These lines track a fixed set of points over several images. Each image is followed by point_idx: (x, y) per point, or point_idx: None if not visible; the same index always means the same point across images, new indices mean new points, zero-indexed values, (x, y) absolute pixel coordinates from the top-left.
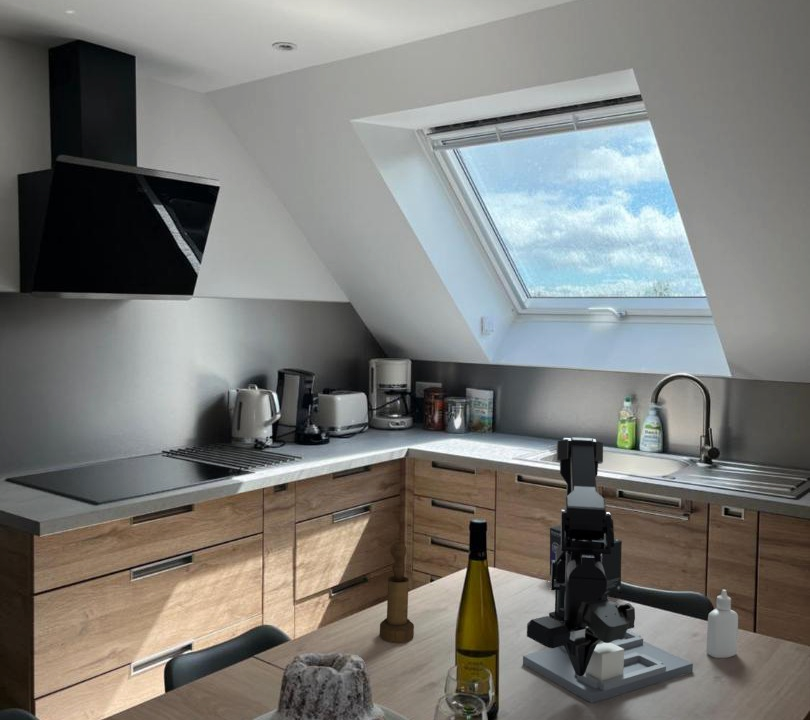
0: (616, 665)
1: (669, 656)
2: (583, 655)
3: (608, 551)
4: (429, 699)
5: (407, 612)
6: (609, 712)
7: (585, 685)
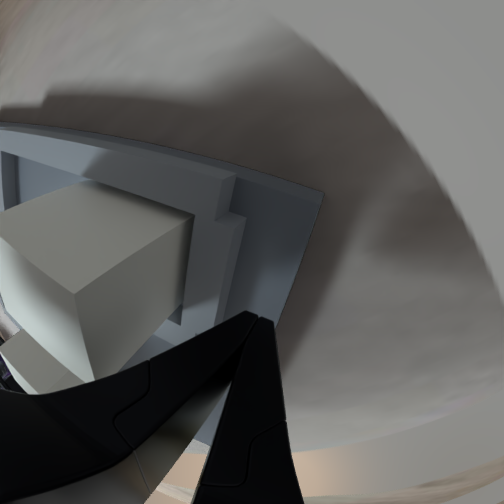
0: (65, 208)
1: None
2: (234, 427)
3: None
4: (487, 463)
5: None
6: (346, 86)
7: (254, 272)
